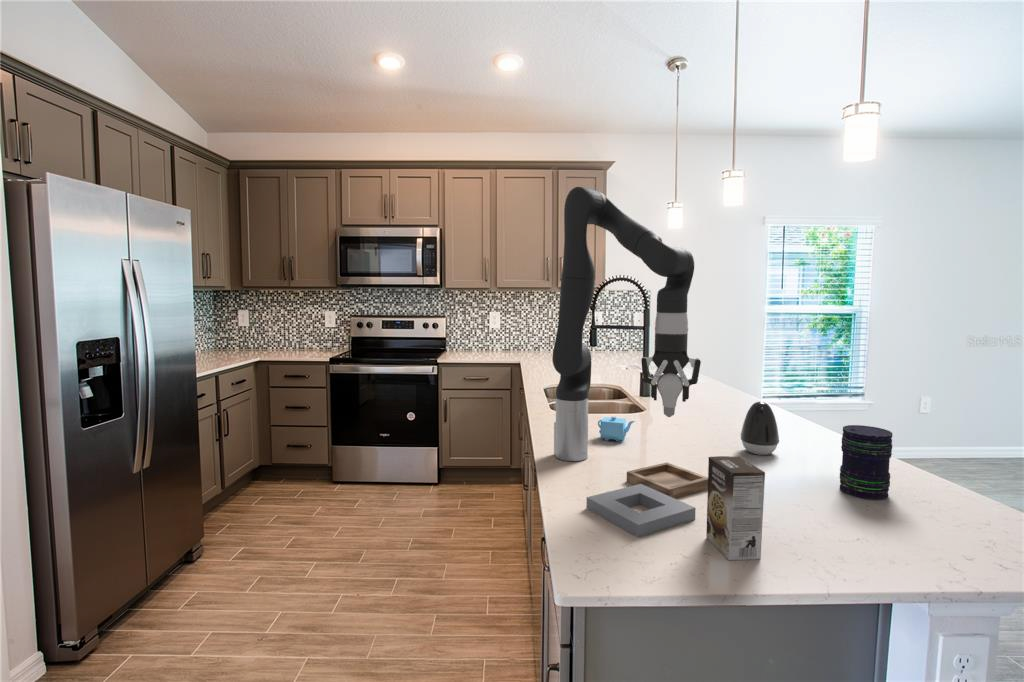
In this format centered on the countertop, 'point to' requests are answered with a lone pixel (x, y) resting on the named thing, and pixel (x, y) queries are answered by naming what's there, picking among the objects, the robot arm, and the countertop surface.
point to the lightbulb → (669, 391)
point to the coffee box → (735, 507)
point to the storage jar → (865, 462)
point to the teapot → (613, 428)
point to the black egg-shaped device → (760, 430)
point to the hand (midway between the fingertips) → (669, 400)
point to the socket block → (640, 523)
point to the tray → (668, 479)
